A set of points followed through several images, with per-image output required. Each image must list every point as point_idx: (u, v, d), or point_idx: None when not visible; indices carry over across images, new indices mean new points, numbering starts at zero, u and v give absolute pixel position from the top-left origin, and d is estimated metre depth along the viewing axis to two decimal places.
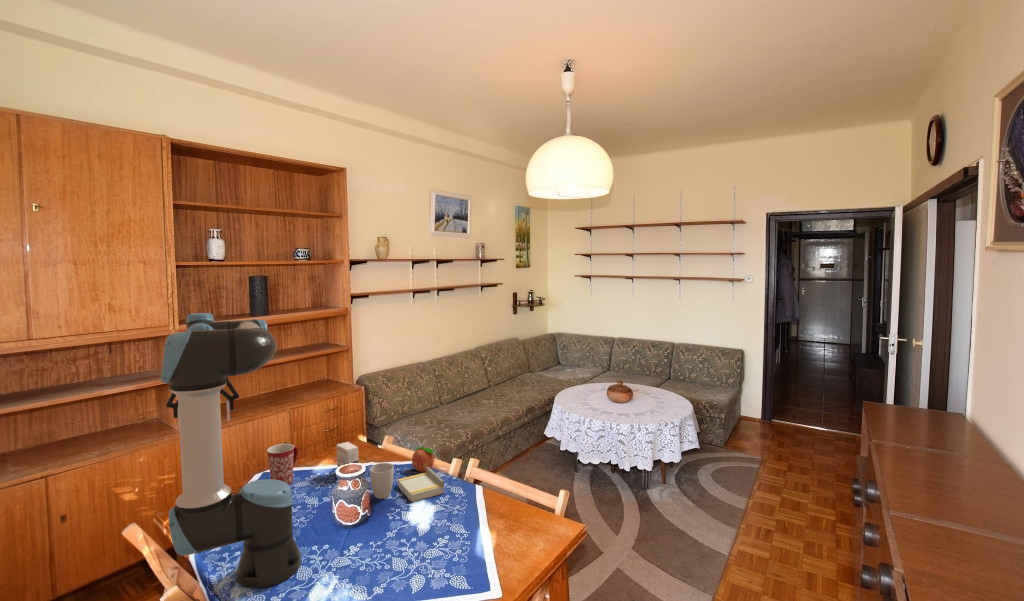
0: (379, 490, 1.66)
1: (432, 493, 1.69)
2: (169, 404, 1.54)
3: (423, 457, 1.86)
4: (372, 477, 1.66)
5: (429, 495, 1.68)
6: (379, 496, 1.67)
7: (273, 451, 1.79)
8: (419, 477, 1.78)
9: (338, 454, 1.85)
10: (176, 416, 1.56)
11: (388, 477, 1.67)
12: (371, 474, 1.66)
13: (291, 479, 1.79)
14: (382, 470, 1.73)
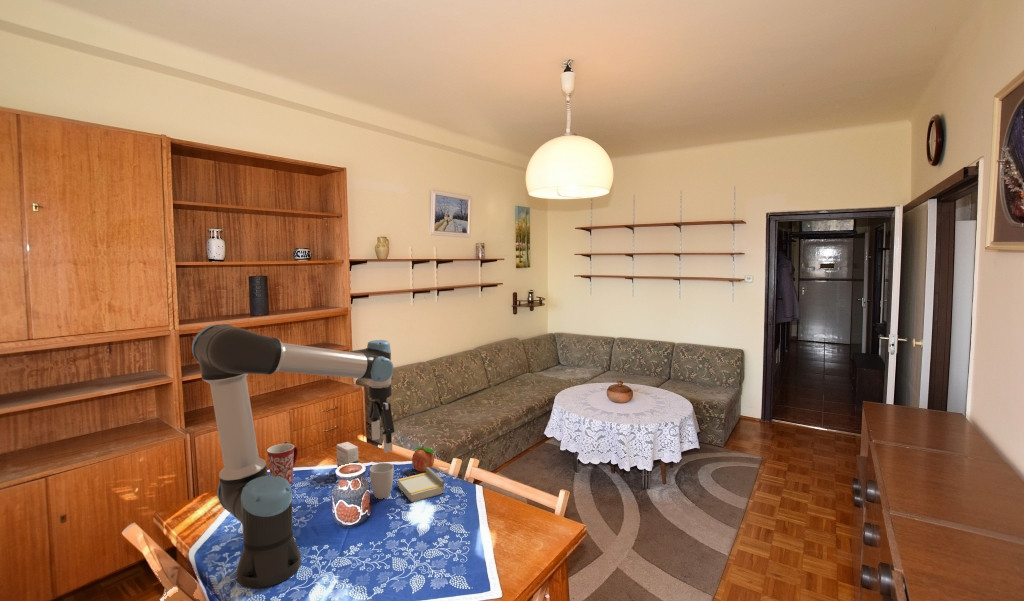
0: (379, 490, 1.66)
1: (432, 493, 1.69)
2: (369, 415, 1.75)
3: (423, 457, 1.86)
4: (372, 477, 1.66)
5: (429, 495, 1.68)
6: (379, 496, 1.67)
7: (273, 451, 1.79)
8: (419, 477, 1.78)
9: (338, 454, 1.85)
10: None
11: (388, 477, 1.67)
12: (371, 474, 1.66)
13: (291, 479, 1.79)
14: (382, 470, 1.73)
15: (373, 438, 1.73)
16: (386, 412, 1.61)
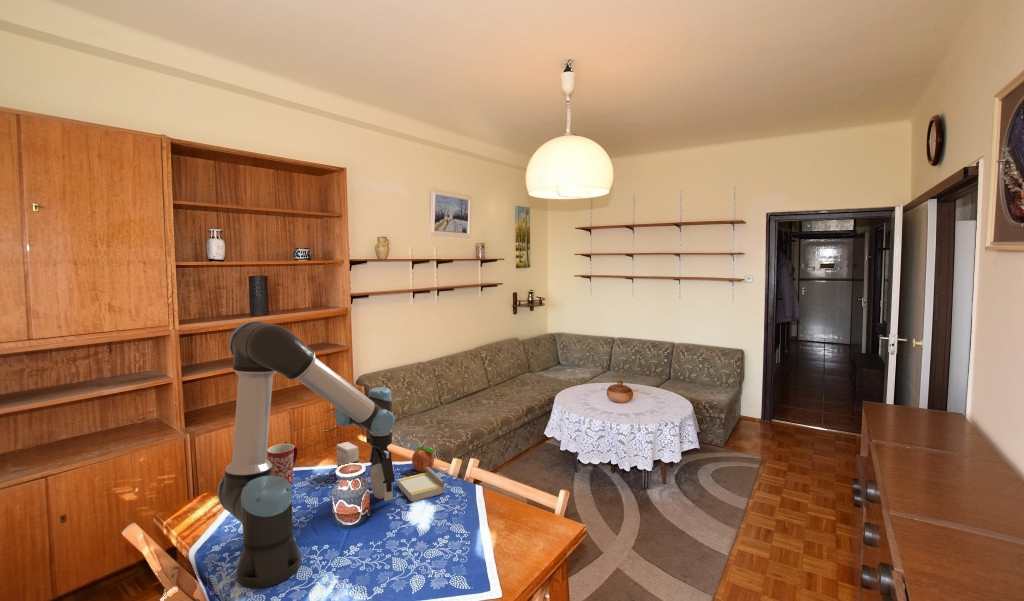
0: (379, 490, 1.66)
1: (432, 493, 1.69)
2: (370, 460, 1.76)
3: (423, 457, 1.86)
4: (372, 477, 1.66)
5: (429, 495, 1.68)
6: (379, 496, 1.67)
7: (273, 451, 1.79)
8: (419, 477, 1.78)
9: (338, 454, 1.85)
10: None
11: None
12: (371, 474, 1.66)
13: (291, 479, 1.79)
14: (382, 470, 1.73)
15: None
16: (387, 461, 1.62)
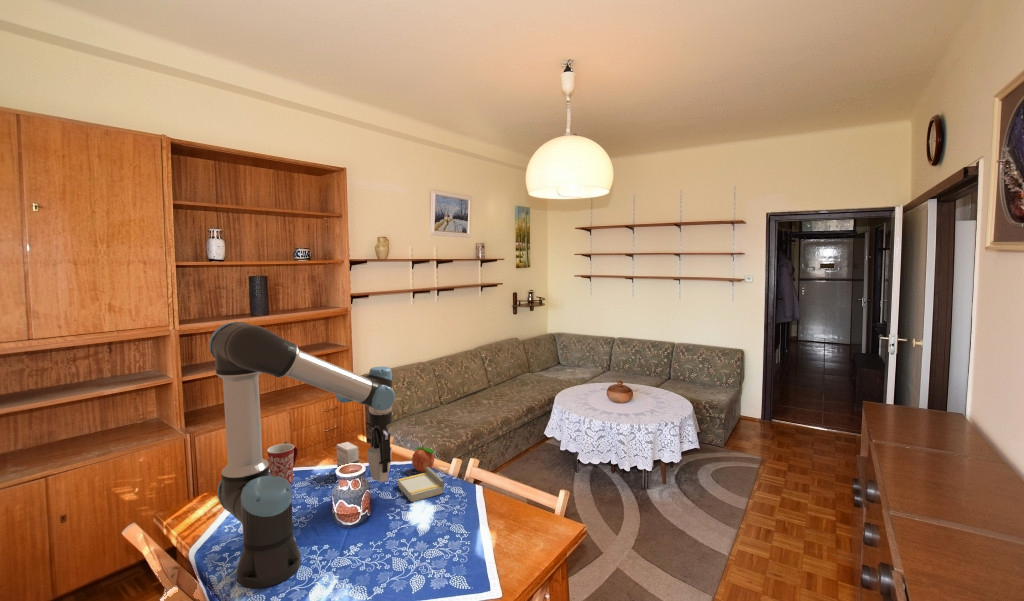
0: (377, 471, 1.65)
1: (432, 493, 1.69)
2: None
3: (423, 457, 1.86)
4: (370, 458, 1.65)
5: (429, 495, 1.68)
6: (376, 478, 1.66)
7: (273, 451, 1.79)
8: (419, 477, 1.78)
9: (338, 454, 1.85)
10: None
11: None
12: (369, 455, 1.65)
13: (291, 479, 1.79)
14: None
15: None
16: (385, 442, 1.62)
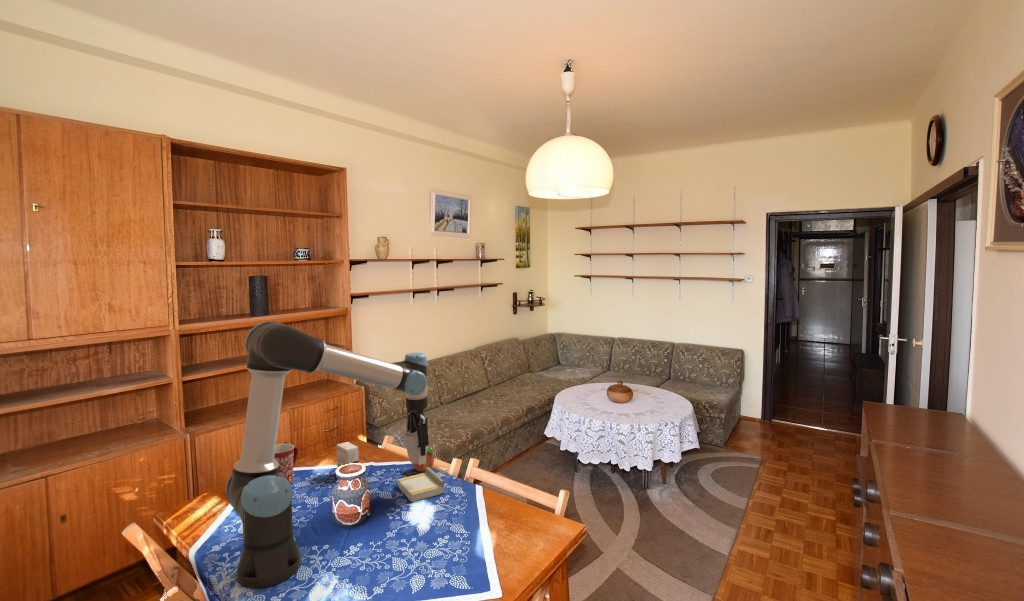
0: (415, 454, 1.69)
1: (432, 493, 1.69)
2: None
3: None
4: (408, 442, 1.69)
5: (429, 495, 1.68)
6: (415, 461, 1.70)
7: None
8: (419, 477, 1.78)
9: (338, 454, 1.85)
10: None
11: None
12: (407, 439, 1.69)
13: (291, 479, 1.79)
14: (416, 436, 1.76)
15: None
16: (423, 426, 1.66)
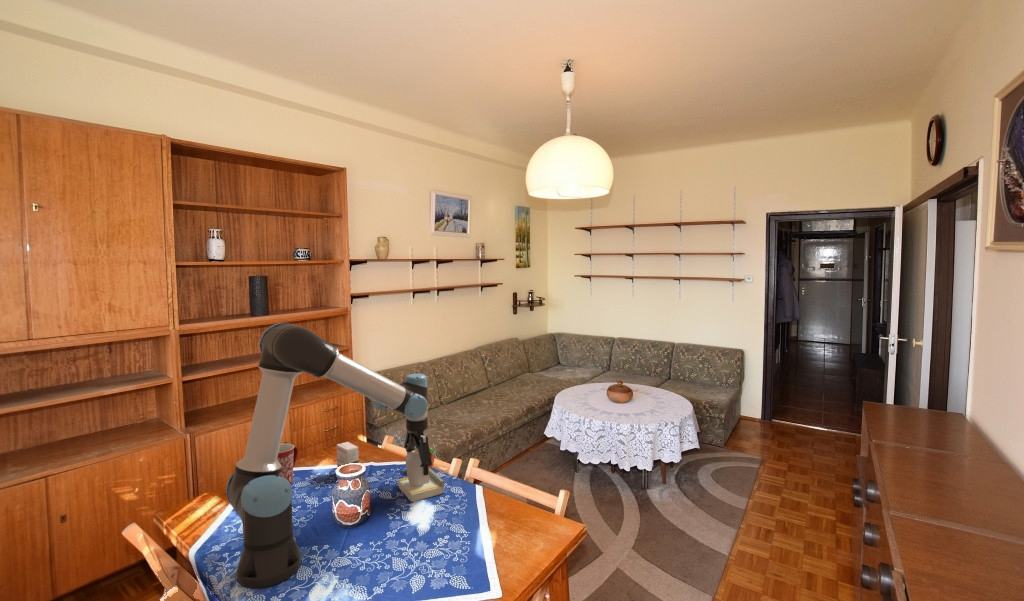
0: (415, 478, 1.70)
1: (432, 493, 1.69)
2: (404, 446, 1.80)
3: None
4: (408, 465, 1.70)
5: (429, 495, 1.68)
6: (415, 484, 1.70)
7: None
8: None
9: (338, 454, 1.85)
10: None
11: None
12: (407, 462, 1.70)
13: (291, 479, 1.79)
14: (416, 459, 1.76)
15: None
16: (424, 445, 1.66)
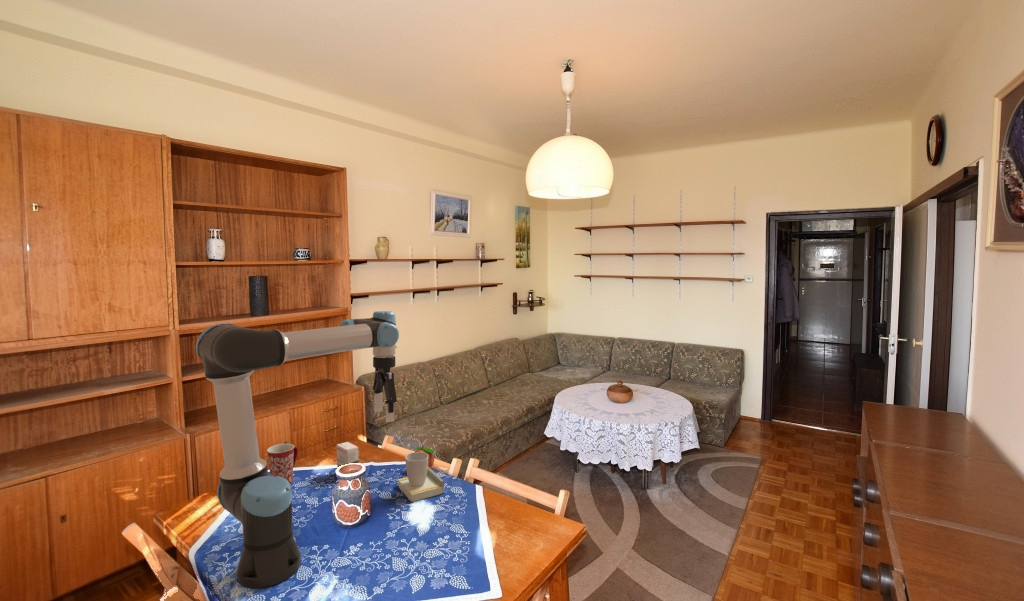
0: (415, 478, 1.70)
1: (432, 493, 1.69)
2: (373, 387, 1.75)
3: None
4: (408, 465, 1.70)
5: (429, 495, 1.68)
6: (415, 484, 1.70)
7: (273, 451, 1.79)
8: None
9: (338, 454, 1.85)
10: None
11: (424, 465, 1.70)
12: (407, 462, 1.70)
13: (291, 479, 1.79)
14: (416, 459, 1.76)
15: (376, 410, 1.74)
16: (389, 381, 1.62)
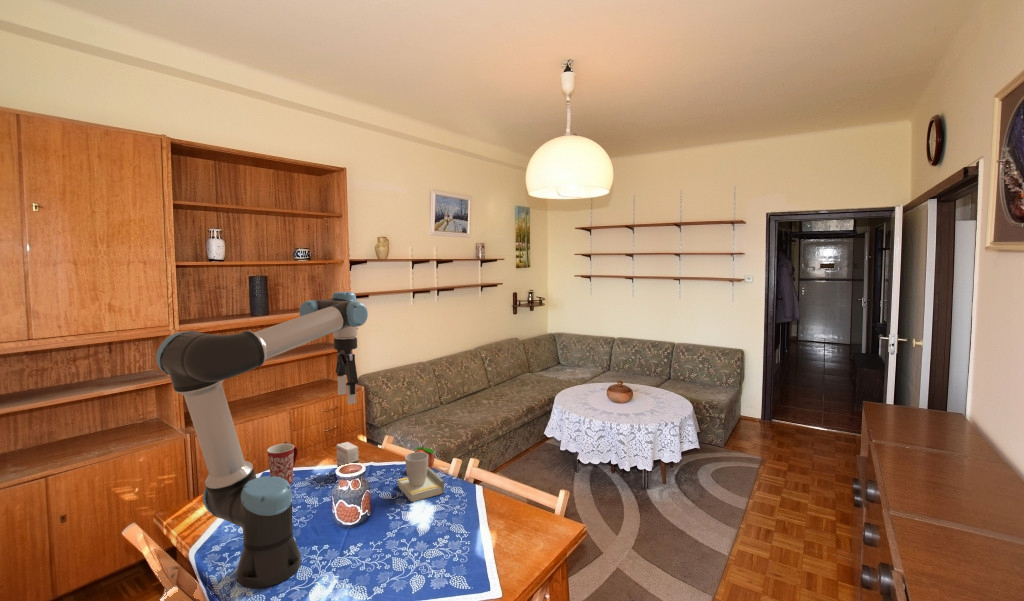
0: (415, 478, 1.70)
1: (432, 493, 1.69)
2: (336, 370, 1.72)
3: None
4: (408, 465, 1.70)
5: (429, 495, 1.68)
6: (415, 484, 1.70)
7: (273, 451, 1.79)
8: None
9: (338, 454, 1.85)
10: None
11: (424, 465, 1.70)
12: (407, 462, 1.70)
13: (291, 479, 1.79)
14: (416, 459, 1.76)
15: (339, 393, 1.71)
16: (350, 363, 1.59)
